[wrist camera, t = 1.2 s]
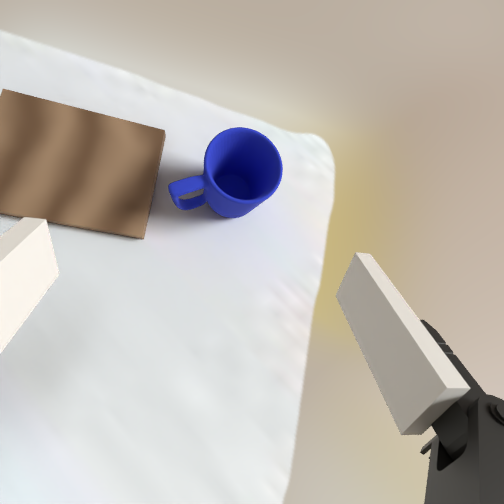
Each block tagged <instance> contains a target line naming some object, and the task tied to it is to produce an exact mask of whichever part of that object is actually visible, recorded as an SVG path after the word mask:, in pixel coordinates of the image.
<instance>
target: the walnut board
mask: <svg viewBox="0 0 504 504" xmlns="http://www.w3.org/2000/svg"><path fill="white" fill-rule="evenodd" d="M165 137H166V136H165V130H162V129H158V128H154V127H150V126H146V125H142V124H138V123H134V122H130V121H127V120H123V119H119V118H115V117H111V116H107V115H103V114H99V113H96V112H92V111H88V110H84V109H80V108H76V107H72V106H68V105H64V104H61V103H57V102H53V101H49V100H45V99H41V98H37V97H33V96H29V95H26V94H22V93H18V92H14V91H10V90H6V89H3V90H2V93H1V96H0V214H5V215H11V216H17V217H22V218H24V217H29V218H39V219H46V221H47V222H50V223H56V224H62V225H67V226H73V227H78V228H84V229H90V230H95V231H101V232H106V233H112V234H118V235H123V236H129V237H134V238H140V239H144V236H145V231H146V226H147V222H148V217H149V212H150V207H151V203H152V198H153V193H154V189H155V184H156V179H157V174H158V170H159V165H160V160H161V155H162V151H163V146H164V141H165Z"/></svg>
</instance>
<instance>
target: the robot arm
mask: <svg viewBox="0 0 504 504" xmlns="http://www.w3.org/2000/svg"><path fill="white" fill-rule="evenodd" d="M59 274H60V273H59V269H58V265H57V261H56V257H55V253H54V249H53V245H52V241H51V237H50V233H49V229H48V225H47V221H46V219H39V218H29V217H24V218H22V219H21V220H20V221H19V222H17V223H16V224H15V225H14V226H13V227H11V228H10V229H9V230H8V231H6V232H5V233H4V234H3V235H1V236H0V354H1V352H2V351H3V350H4V348H5V347H6V346H7V344H8V343H9V342H10V340H11V339H12V338H13V336H14V335H15V333H16V332H17V331H18V329H19V328H20V327H21V325H22V324H23V323H24V321H25V320H26V319H27V317H28V316H29V315H30V313H31V312H32V311H33V309H34V308H35V307H36V305H37V304H38V303H39V301H40V300H41V299H42V297H43V296H44V295H45V293H46V292H47V291H48V289H49V288H50V287H51V285H52V284H53V283H54V281H55V280H56V278H57V277H58V276H59ZM336 298H337V299H338V302H339V304H340V306H341V308H342V310H343V312H344V315H345V317H346V319H347V321H348V323H349V325H350V327H351V329H352V331H353V333H354V336H355V338H356V340H357V342H358V344H359V346H360V349H361V351H362V353H363V355H364V357H365V359H366V361H367V363H368V365H369V368H370V370H371V372H372V374H373V376H374V378H375V380H376V382H377V384H378V387H379V389H380V391H381V393H382V395H383V397H384V399H385V401H386V403H387V406H388V408H389V410H390V412H391V414H392V416H393V419H394V421H395V423H396V425H397V427H398V429H399V431H400V433H401V435H419V434H420V435H421V434H422V433H424V432H425V431H426V430H427V429H428V428H429V427H430V426H431V425H432V427H433V429H434V431H435V432H436V434H437V435H436V436H435V437H434V438H433V439H432V440H430V441H429V442H428V443H427V444H426V445H425V446H423V448H422V449H421V452H420V453H422V454H425V453H426V452H427V451H428V450H430V449H431V454H430V457H429V459H430V462H429V470H428V479H427V487H426V495H425V503H424V504H504V400H502V399H500V398H497V397H495V396H493V395H487V394H486V393H485V392H484V391H483V390H482V389H481V387H480V386H479V385H478V383H477V382H476V381H475V379H474V378H473V377H472V376H471V374H470V373H469V372H468V370H467V369H466V368H465V367H464V365H463V364H462V363H461V361H460V360H459V359H458V358H457V356H456V355H454V354H453V351H452V350H451V349H450V347H449V346H448V345H446V344H445V343H446V342H445V341H444V340H443V338H442V337H441V336H440V334H439V333H438V332H437V331H436V330H435V329H434V328H433V327H432V326H430V325H429V324H428V323H427V322H425V321H424V320H419V319H418V317H417V316H416V315H415V313H414V312H413V311H412V309H411V308H410V306H409V305H408V304H407V302H406V301H405V300H404V298H403V297H402V296H401V294H400V293H399V292H398V290H397V289H396V288H395V286H394V285H393V284H392V282H391V281H390V280H389V278H388V277H387V276H386V274H385V273H384V272H383V270H382V269H381V268H380V266H379V265H378V264H377V262H376V261H375V260H374V258H373V257H372V255H371V254H365V253H357V252H356V253H355V255H354V257H353V259H352V261H351V263H350V266H349V268H348V270H347V272H346V274H345V276H344V278H343V281H342V283H341V285H340V287H339V289H338V292H337V294H336Z"/></svg>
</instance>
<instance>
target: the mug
mask: <svg viewBox="0 0 504 504" xmlns="http://www.w3.org/2000/svg"><path fill="white" fill-rule="evenodd" d="M282 170H283V169H282V161H281V157H280V154H279V152H278V150H277V149H276V147H275V146H274V144H273V143H272V142H271V141H270V140H269V139H268V138H267V137H266V136H264V135H263V134H261V133H260V132H257V131H255V130H252V129H249V128H242V127H237V128H230V129H227V130H225V131H223V132H221V133H219V134H218V135H217V136H215V137H214V138H213V139H212V141H211V142H210V143H209V145H208V147H207V149H206V152H205V157H204V173H203V175H199V176H192V177H188V178H185V179H182V180H178V181H176V182H173V183H170V184H169V186H168V189H169V193H170V195H171V198H172V200H173V202H174V203H175V205H176V206H177V207H178V208H179V209H182V210H190V209H194V208H197V207H199V206H201V205H203V204H205V203H206V201H207V202H208V204H209V205H210V207H211V208H212V209H213V210H214V211H215V212H216V213H218V214H219V215H221V216H224V217H228V218H237V217H241V216H244V215H245V214H247V213H249V212H250V211H251V210H253V209H254V208H255V207H257V206H258V205H259V204H261V203H262V202H263V201H265V200H266V199H268V198H269V197H270V196H271V195H272V194H273V193H274V192H275V191H276V189H277V188H278V186H279V184H280V181H281V178H282ZM199 189H204V192H203V194H202V195H200V196H197V197H194V198H191V199H184V200H183V199H180V198H178V197H179V196H181V195H184V194H187V193H190V192H193V191H196V190H199Z"/></svg>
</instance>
